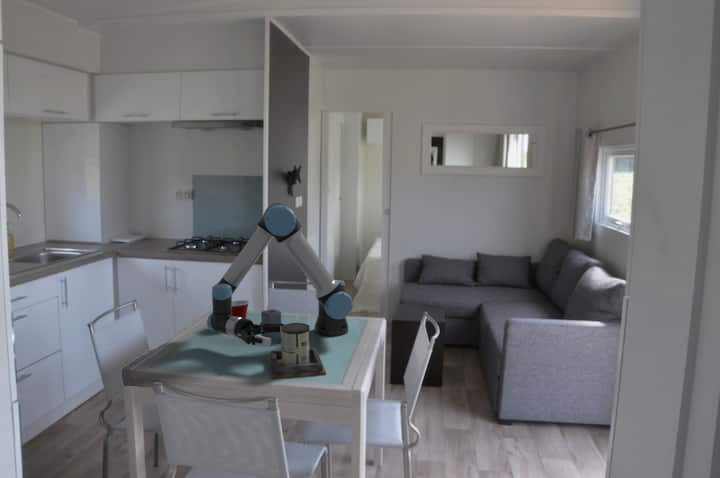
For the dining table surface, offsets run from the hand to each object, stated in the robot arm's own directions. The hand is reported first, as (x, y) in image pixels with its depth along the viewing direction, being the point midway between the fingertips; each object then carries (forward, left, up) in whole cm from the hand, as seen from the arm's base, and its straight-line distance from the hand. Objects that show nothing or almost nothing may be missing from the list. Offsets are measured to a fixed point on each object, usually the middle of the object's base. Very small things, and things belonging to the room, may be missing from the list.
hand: (282, 337), depth 194 cm
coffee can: (-4, +4, -9) cm, 11 cm away
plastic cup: (+17, -48, -10) cm, 52 cm away
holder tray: (-4, +4, -10) cm, 12 cm away
